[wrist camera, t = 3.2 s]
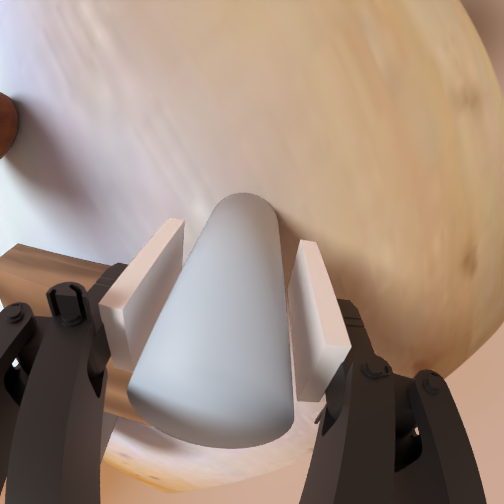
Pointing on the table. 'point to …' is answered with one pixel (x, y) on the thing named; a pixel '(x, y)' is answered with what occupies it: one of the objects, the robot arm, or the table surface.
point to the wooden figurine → (7, 123)
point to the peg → (222, 337)
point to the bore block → (34, 294)
